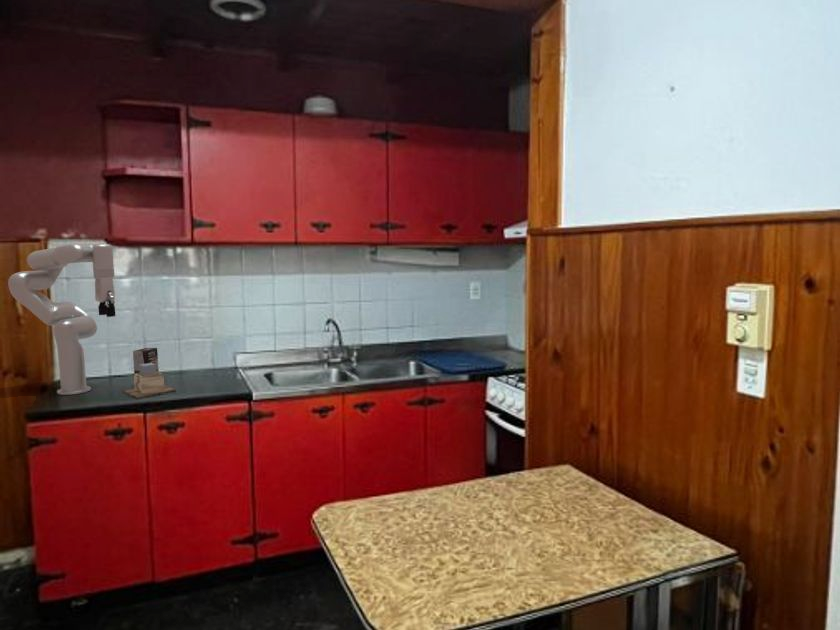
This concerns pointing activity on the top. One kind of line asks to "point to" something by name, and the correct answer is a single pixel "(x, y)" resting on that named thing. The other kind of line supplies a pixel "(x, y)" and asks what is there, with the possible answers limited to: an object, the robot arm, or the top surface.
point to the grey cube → (147, 369)
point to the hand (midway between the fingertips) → (107, 315)
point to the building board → (139, 395)
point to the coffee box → (145, 358)
